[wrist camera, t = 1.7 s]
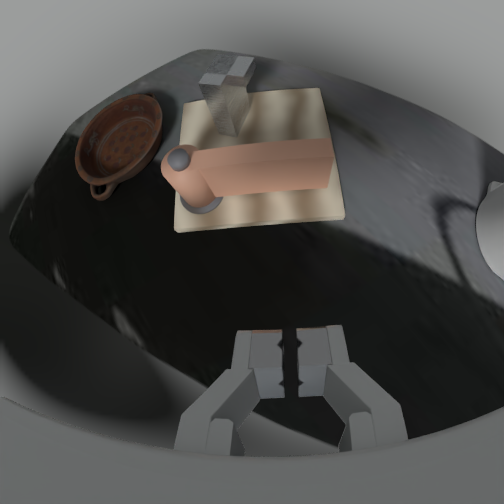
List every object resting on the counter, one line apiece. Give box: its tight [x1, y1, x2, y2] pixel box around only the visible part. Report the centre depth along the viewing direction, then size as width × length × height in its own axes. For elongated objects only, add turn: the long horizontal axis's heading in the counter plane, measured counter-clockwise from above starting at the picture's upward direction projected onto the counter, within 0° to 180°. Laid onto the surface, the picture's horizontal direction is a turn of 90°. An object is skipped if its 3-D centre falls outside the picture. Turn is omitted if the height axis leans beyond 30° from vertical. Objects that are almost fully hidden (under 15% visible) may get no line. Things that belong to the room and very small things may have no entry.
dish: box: [75, 93, 162, 201], centre depth 44 cm, size 17×22×5 cm
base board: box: [174, 88, 345, 233], centre depth 41 cm, size 23×23×2 cm
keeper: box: [198, 55, 256, 137], centre depth 37 cm, size 6×5×12 cm
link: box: [161, 138, 334, 208], centre depth 34 cm, size 20×5×9 cm, turn 93°
